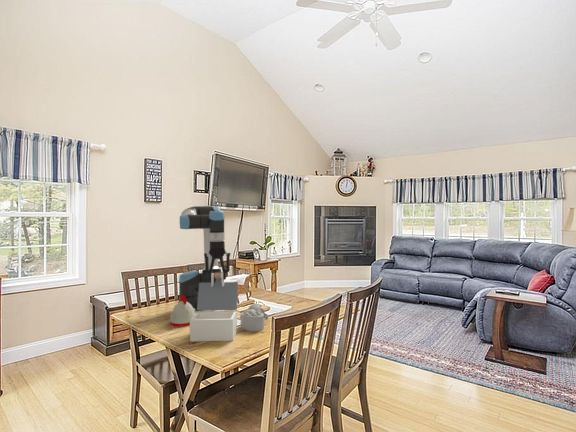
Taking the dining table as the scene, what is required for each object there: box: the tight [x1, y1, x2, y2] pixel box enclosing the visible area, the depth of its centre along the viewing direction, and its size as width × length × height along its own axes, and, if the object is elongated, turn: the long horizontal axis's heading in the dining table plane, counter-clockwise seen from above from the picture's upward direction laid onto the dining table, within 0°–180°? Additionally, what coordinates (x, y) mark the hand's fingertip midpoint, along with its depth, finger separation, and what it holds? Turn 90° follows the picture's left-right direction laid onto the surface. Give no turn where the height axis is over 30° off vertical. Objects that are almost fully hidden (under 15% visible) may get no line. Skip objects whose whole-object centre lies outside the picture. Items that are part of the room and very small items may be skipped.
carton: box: [189, 310, 238, 342], centre depth 168 cm, size 14×20×10 cm
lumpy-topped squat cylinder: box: [240, 309, 265, 332], centre depth 180 cm, size 10×13×9 cm
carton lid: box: [197, 273, 239, 311], centre depth 177 cm, size 18×20×6 cm
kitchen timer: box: [169, 295, 196, 328], centre depth 189 cm, size 14×14×15 cm
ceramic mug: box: [247, 303, 269, 319], centre depth 194 cm, size 11×8×8 cm
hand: (217, 285), depth 178 cm, fingers open, 5 cm apart
